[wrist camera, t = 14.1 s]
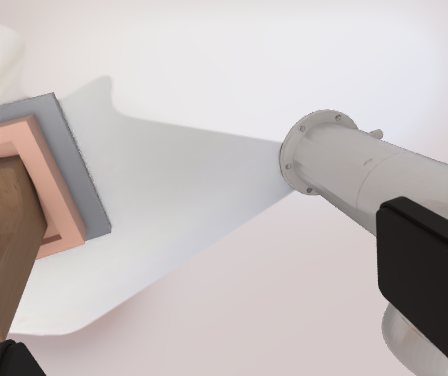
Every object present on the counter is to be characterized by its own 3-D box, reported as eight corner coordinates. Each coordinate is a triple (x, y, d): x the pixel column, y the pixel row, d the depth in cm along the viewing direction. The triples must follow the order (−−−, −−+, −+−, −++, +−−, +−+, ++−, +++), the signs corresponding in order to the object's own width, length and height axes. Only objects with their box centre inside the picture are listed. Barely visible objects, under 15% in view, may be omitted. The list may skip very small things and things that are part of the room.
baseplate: (53, 92, 38) (45, 98, 34) (111, 227, 46) (110, 246, 42) (-105, 132, 36) (-137, 145, 31) (-16, 268, 43) (-31, 294, 39)
